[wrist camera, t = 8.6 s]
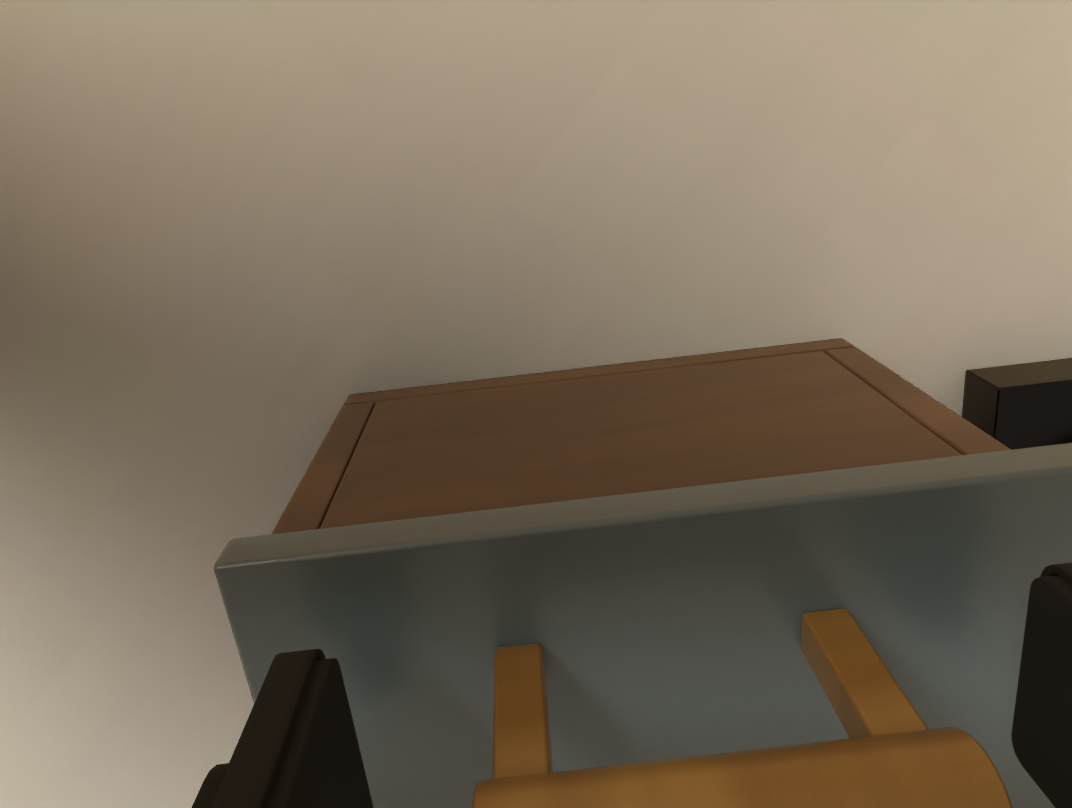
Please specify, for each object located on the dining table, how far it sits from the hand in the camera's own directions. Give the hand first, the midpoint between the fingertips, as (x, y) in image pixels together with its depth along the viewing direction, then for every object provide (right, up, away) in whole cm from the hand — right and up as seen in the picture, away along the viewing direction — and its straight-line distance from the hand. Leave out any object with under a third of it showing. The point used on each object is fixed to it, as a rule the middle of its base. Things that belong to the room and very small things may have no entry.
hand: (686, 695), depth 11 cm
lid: (+1, -4, +4) cm, 6 cm away
